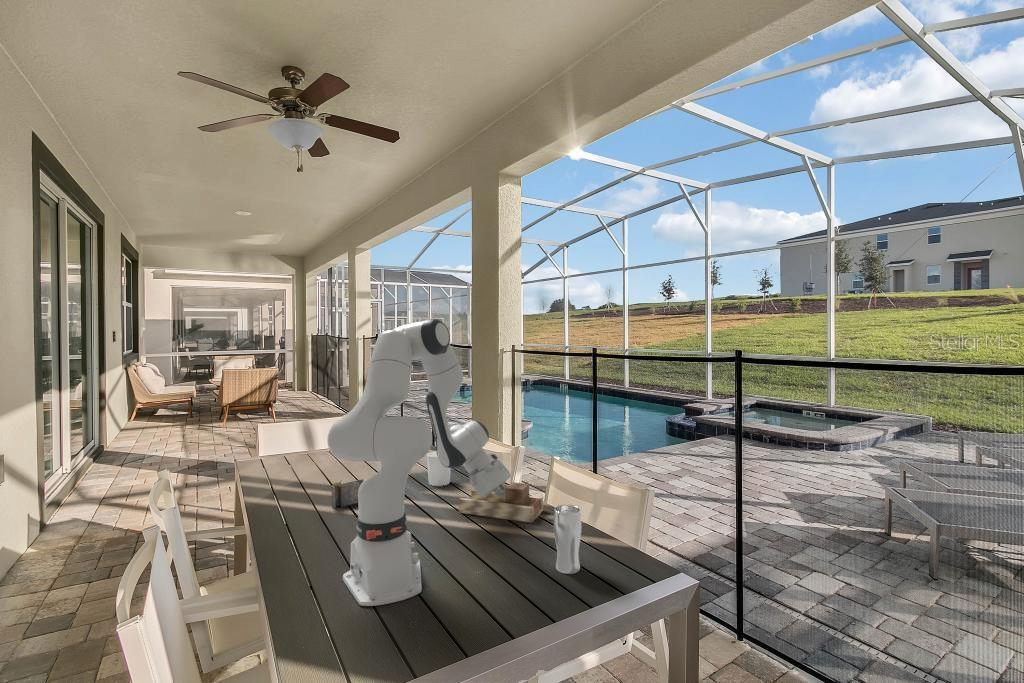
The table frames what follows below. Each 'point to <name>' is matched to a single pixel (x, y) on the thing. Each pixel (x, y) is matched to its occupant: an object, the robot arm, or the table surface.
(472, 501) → the pine chute
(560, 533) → the beer glass
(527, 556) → the table surface
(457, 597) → the table surface
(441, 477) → the candle holder
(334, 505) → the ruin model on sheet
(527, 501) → the walnut block
